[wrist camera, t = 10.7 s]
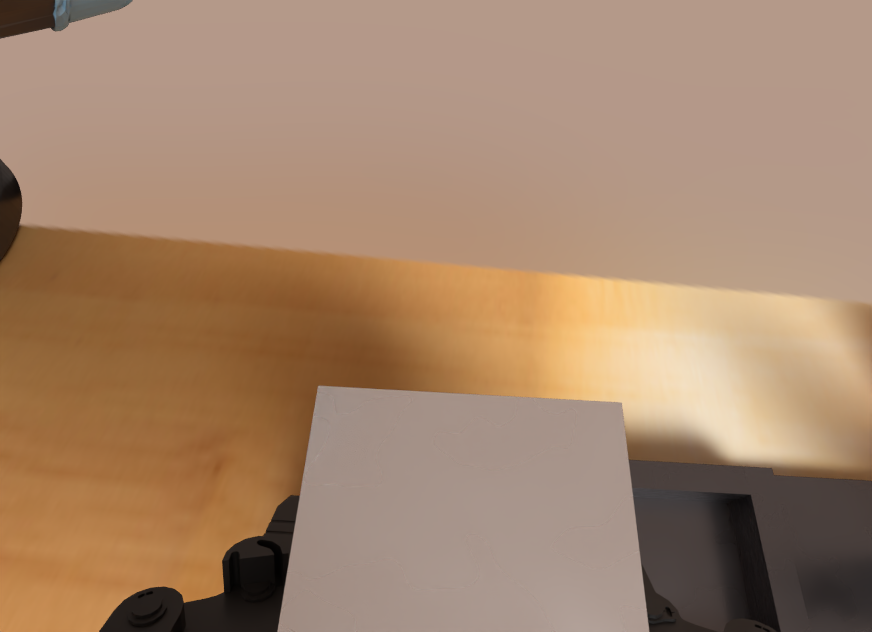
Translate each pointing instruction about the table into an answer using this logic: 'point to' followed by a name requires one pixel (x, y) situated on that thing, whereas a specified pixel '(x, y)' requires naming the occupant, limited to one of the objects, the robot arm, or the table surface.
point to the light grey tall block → (464, 516)
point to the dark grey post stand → (756, 545)
